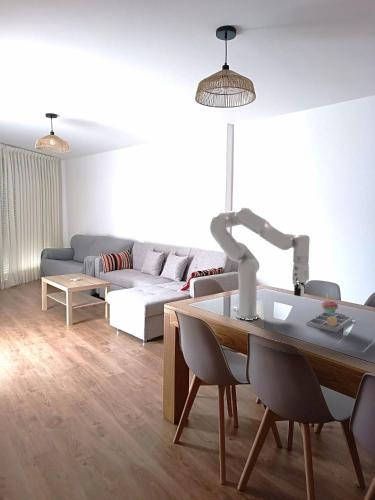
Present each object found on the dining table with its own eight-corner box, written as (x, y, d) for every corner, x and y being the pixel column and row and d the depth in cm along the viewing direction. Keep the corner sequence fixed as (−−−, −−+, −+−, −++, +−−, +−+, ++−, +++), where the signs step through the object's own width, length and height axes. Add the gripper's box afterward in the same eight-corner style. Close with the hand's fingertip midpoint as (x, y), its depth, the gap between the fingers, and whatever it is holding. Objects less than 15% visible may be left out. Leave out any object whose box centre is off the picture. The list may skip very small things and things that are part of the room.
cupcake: (327, 316, 198) (328, 294, 197) (318, 312, 206) (318, 291, 205) (341, 315, 200) (342, 293, 199) (331, 310, 209) (331, 290, 207)
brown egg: (325, 328, 178) (325, 316, 177) (328, 326, 181) (329, 314, 180) (334, 330, 175) (334, 318, 174) (337, 328, 178) (338, 316, 177)
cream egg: (293, 295, 187) (293, 284, 186) (297, 294, 190) (297, 283, 190) (301, 297, 184) (302, 285, 183) (305, 295, 187) (305, 284, 187)
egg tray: (306, 326, 182) (306, 321, 182) (323, 316, 198) (323, 311, 198) (336, 333, 172) (336, 327, 172) (352, 321, 189) (352, 317, 188)
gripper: (300, 262, 176) (299, 299, 178) (314, 258, 189) (313, 293, 191) (286, 260, 181) (285, 296, 183) (301, 256, 194) (299, 290, 196)
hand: (299, 294), depth 187 cm, fingers closed on cream egg, 4 cm apart
